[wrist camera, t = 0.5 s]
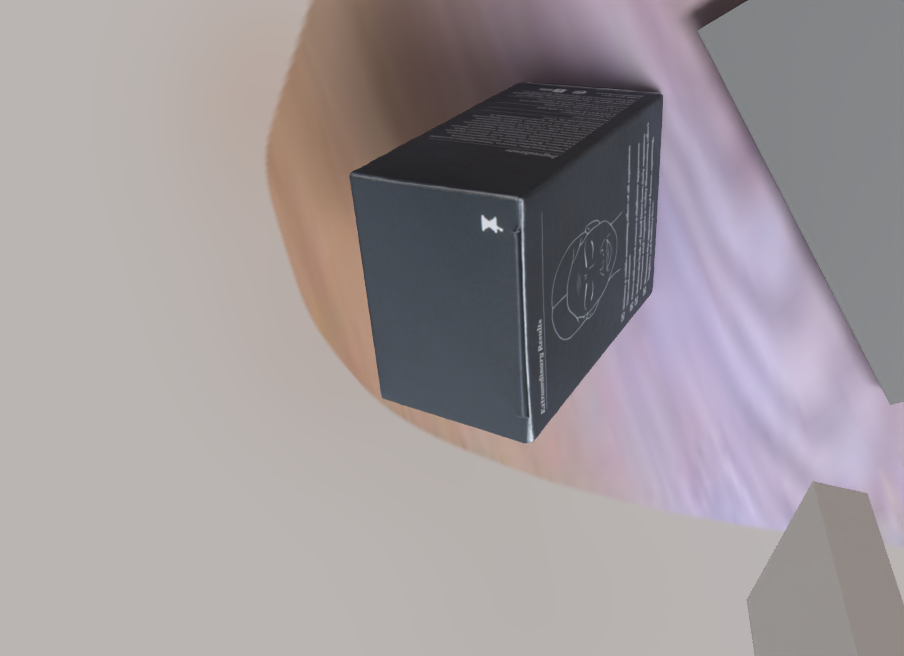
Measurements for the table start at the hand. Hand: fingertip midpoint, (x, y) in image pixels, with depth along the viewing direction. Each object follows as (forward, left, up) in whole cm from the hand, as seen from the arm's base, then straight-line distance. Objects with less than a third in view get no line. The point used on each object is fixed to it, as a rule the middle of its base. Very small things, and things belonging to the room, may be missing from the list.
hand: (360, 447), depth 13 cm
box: (+6, 0, -20) cm, 21 cm away
